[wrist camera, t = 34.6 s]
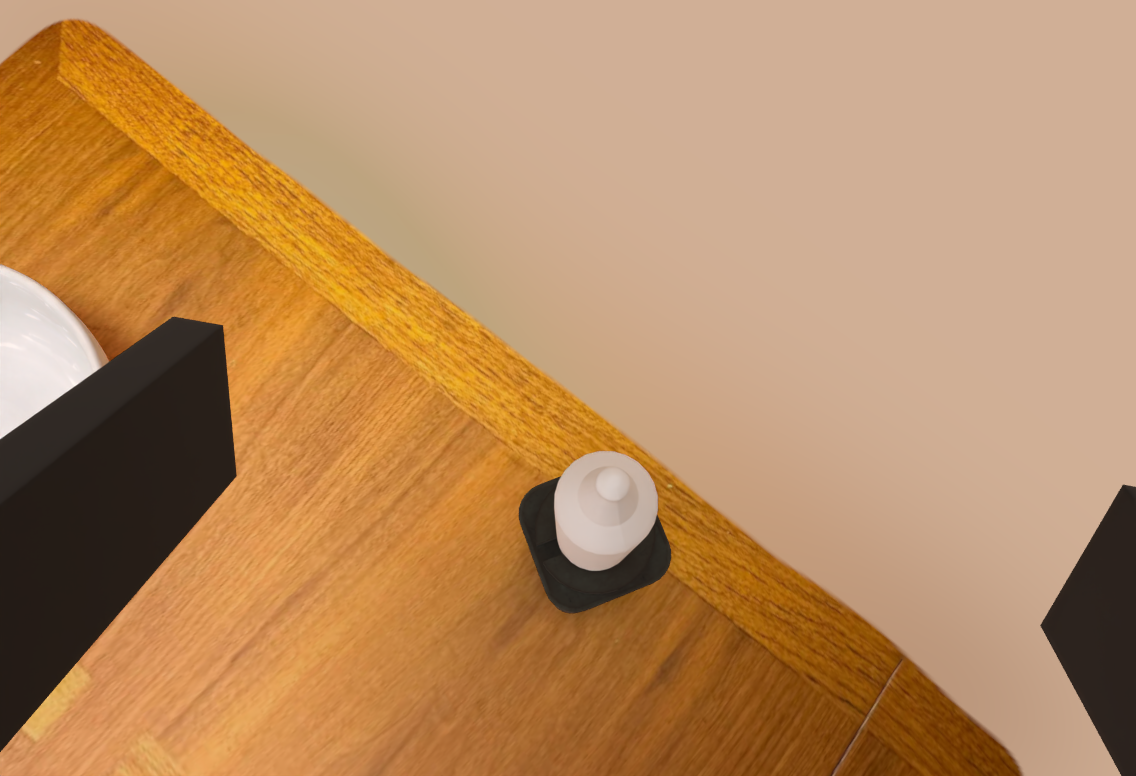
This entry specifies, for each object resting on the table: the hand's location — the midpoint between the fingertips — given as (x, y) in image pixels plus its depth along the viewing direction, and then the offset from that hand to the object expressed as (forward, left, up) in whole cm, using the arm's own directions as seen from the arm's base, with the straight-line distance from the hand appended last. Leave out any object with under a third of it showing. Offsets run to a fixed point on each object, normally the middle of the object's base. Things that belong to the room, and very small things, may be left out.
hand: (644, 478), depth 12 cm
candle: (+1, -1, -32) cm, 32 cm away
